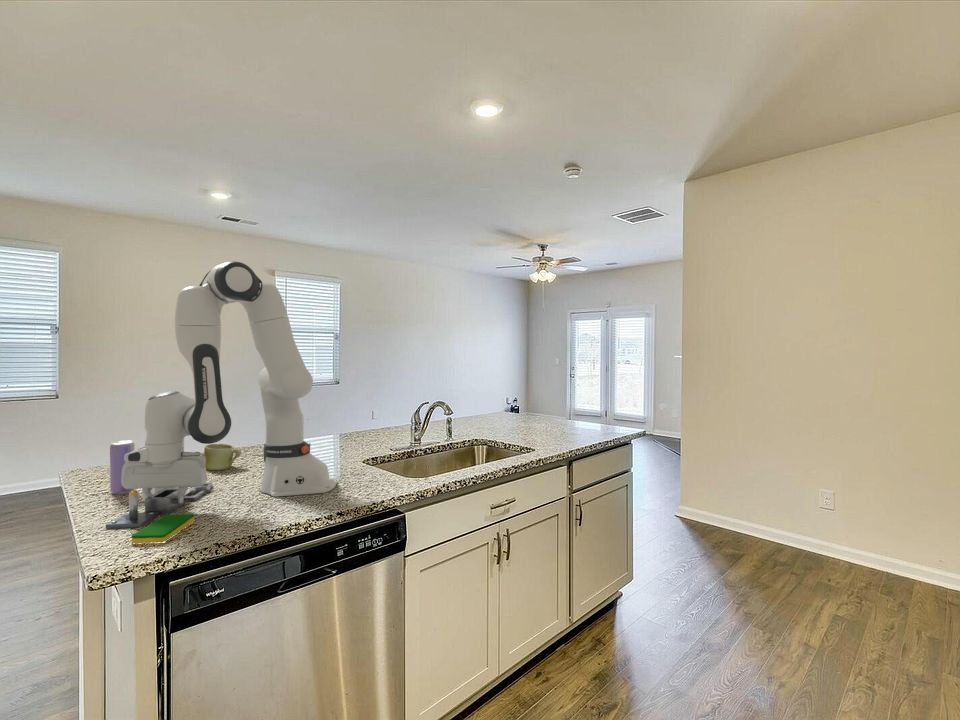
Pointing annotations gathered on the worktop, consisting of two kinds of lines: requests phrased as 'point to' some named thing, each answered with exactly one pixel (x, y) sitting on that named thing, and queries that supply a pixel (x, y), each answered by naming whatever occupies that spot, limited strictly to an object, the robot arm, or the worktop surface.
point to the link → (163, 502)
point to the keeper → (132, 515)
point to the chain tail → (198, 492)
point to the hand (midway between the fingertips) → (165, 503)
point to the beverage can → (119, 465)
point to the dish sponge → (163, 528)
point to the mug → (220, 456)
